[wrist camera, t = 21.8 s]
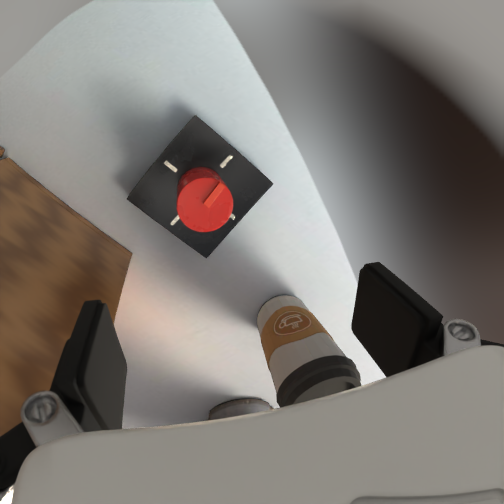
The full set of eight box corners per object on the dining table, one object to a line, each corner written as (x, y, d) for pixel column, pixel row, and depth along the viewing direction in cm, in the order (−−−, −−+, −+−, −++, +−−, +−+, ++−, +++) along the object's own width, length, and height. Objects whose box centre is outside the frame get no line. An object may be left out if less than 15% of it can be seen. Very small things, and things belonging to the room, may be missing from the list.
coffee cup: (307, 277, 38) (368, 358, 25) (314, 328, 42) (364, 409, 28) (241, 298, 37) (276, 393, 24) (255, 348, 41) (289, 439, 27)
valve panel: (129, 194, 30) (126, 199, 28) (194, 115, 28) (195, 114, 26) (204, 250, 34) (206, 259, 32) (268, 179, 32) (274, 184, 30)
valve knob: (204, 221, 30) (210, 244, 25) (167, 195, 29) (165, 213, 23) (233, 185, 30) (245, 200, 24) (196, 157, 28) (200, 166, 23)
